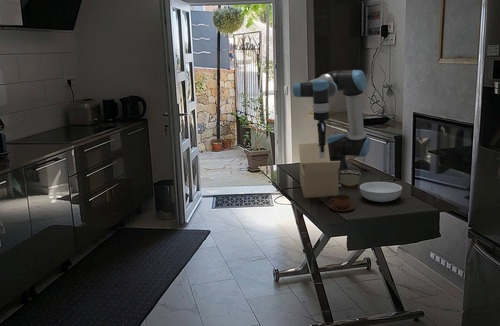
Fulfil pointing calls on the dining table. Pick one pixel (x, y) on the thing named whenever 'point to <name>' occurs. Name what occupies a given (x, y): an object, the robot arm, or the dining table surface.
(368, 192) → the serving bowl
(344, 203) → the cup and saucer
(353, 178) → the food container
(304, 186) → the carton
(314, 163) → the flap
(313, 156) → the flap
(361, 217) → the dining table surface
